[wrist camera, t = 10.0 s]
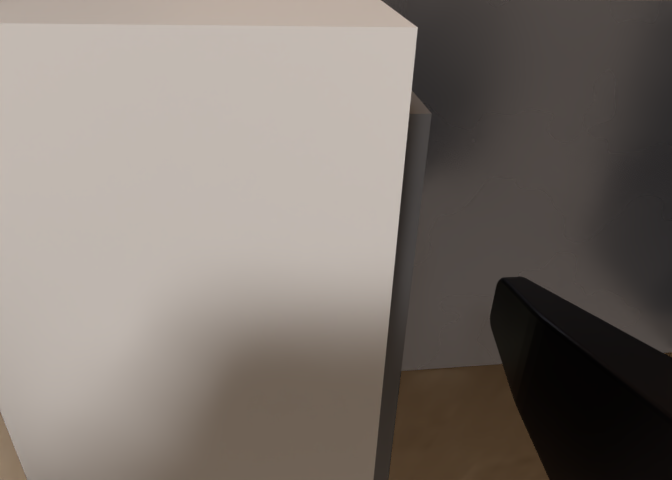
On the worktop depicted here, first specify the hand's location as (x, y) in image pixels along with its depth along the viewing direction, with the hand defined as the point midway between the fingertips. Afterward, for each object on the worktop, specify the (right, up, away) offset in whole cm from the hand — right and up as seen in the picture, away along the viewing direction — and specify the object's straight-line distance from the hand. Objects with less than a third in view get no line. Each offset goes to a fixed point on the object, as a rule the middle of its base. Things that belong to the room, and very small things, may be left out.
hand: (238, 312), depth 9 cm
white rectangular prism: (-1, +1, +2) cm, 3 cm away
